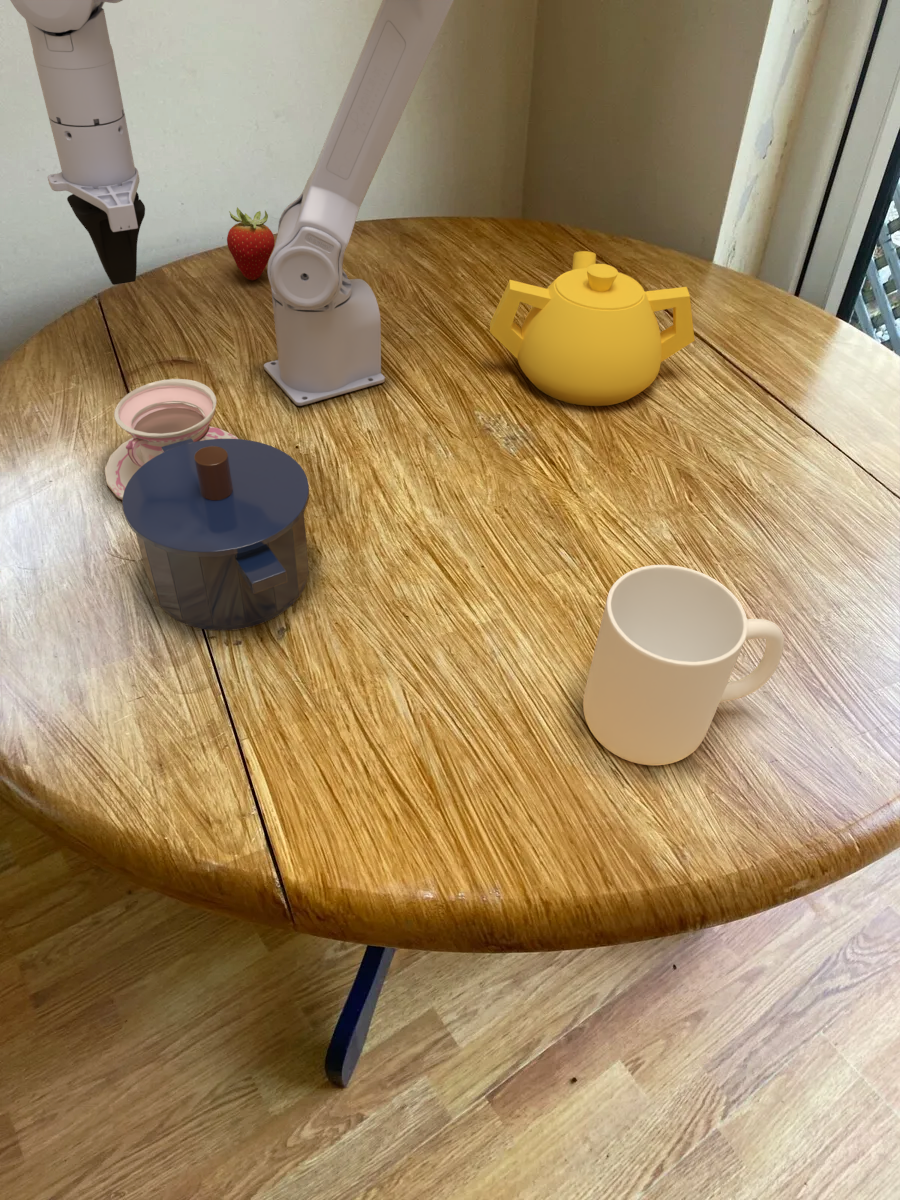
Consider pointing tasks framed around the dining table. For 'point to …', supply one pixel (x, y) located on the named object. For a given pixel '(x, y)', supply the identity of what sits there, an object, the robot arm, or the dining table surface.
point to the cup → (669, 662)
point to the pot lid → (215, 497)
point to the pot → (229, 580)
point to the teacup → (160, 424)
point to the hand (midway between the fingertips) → (122, 280)
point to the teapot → (592, 332)
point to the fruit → (250, 244)
